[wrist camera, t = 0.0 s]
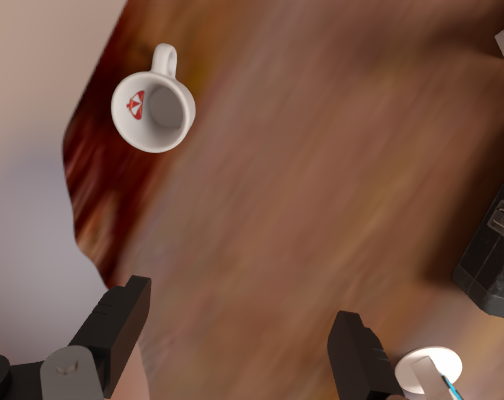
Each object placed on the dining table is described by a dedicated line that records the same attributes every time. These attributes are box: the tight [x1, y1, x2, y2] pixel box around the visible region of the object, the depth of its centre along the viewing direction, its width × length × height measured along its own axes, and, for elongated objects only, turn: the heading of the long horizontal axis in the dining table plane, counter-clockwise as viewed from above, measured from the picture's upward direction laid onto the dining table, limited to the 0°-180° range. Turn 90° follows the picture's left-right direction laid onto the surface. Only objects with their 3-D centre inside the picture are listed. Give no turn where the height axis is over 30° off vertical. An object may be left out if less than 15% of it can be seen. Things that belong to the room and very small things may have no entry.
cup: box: [111, 43, 195, 153], centre depth 34 cm, size 11×8×8 cm
